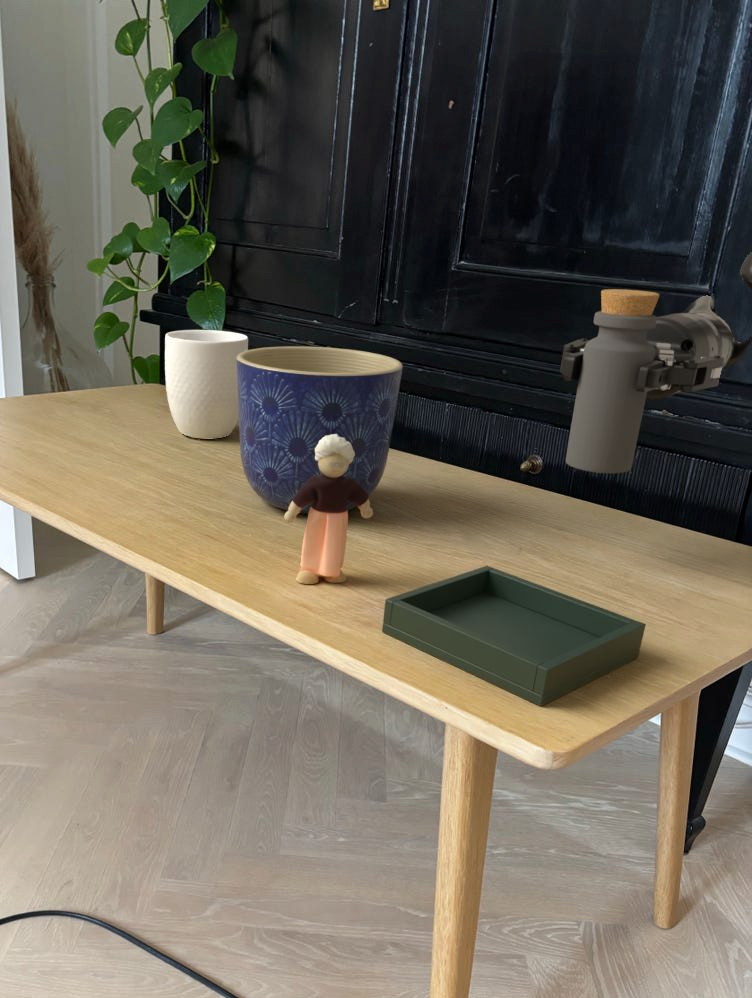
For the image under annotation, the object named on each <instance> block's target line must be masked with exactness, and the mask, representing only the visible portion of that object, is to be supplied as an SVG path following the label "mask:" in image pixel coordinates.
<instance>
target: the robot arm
mask: <svg viewBox="0 0 752 998" xmlns="http://www.w3.org/2000/svg"><path fill="white" fill-rule="evenodd" d="M740 275H741V277H742V280H743V281H745V283H746V285H748V287H749V288H750V289H752V252H750V254H749V255H747V257H746V258H745V260H744V262H743V264H742V266H741V269H740ZM701 296H702V295H701ZM699 297H700V296H699ZM697 298H698V297H697ZM695 299H696V298H695ZM695 299H694V300H695ZM691 302H692V301H691ZM691 302H690V303H691ZM690 303H689V304H690ZM689 304H688V305H689ZM688 305H687V306H688ZM687 306H686V307H687ZM686 307H685V308H686ZM685 308H684V309H685ZM684 309H683V310H684ZM714 309H715V306H714V300H713V299H712V297H711V296H708V295H706V296H702V297H700V298H698V299H696V300H695V301H694V302H692V303H691V304H690V305H689V306H688V307H687V308H686V309H685V310H684V311H683V310H682V311H683V312H682V311H681V312H677V313H670V314H666V315H661V316H656V317H657V323H656V327H655V328H654V329H650V330H648V332H647V337H646V341H648V342H649V343H650V344H651V345H652V346H653V347H654V349H655V355H654V360H653V362H650V363H646V364H643V365H642V366H641V368H640V371H639V376H638V381H637V386H636V391H639V392H647V395H646V399H648V400H659V399H663V398H668V397H670V396H673V395H676V394H679V393H681V392H682V393H685V394H686V393H687V394H688V393H691V392H696V391H701V390H705V389H706V390H707V389H709V388H714V387H718V386H719V384H720V383H719V379H720V375H721V371H722V369H723V368H724V369H725V368H728V367H730V366H734V365H732V364H734V363H735V364H736V362H738V361H739V360H741V358H740V357H743V354H745V353H746V351H747V349H750V347H751V346H750V343H751V344H752V341H751V340H752V337H751V336H750V338H749V337H748V338H749V340H748V339H747V340H748V341H747V340H746V341H743V343H742V342H738V341H737V340H735V337H733V333H732V331H731V329H730V327H729V325H728V324H727V323H726V322H725V320H723V319H722V318H721V317H720V316H718V314H717V313H716V312H715V310H714ZM750 339H751V340H750ZM589 341H590V340H589V339H587V338H581V339H576V340H573V341H571V342H569V343H566V344H564V345H563V349H562V350H563V351H562V355H561V363H560V368H559V373H560V374H561V376H563V379H564V381H568V382H575V381H579V377H580V371H581V365H582V360H583V355H584V349H585V345H586V343H587V342H589ZM736 342H737V343H736ZM744 342H745V343H744ZM739 358H740V359H739ZM725 366H726V367H725ZM729 369H730V368H729Z"/></svg>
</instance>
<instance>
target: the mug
mask: <svg viewBox="0 0 752 998" xmlns="http://www.w3.org/2000/svg"><path fill="white" fill-rule="evenodd" d="M247 350H249V337H248V336H247V335H246V334H242V333H239V332H233V331H226V330H213V329H183V330H174V331H170V332H167V333H165V337H164V375H165V377H164V379H165V391H166V397H167V402H168V408H169V411H170V415H171V417H172V420H173V421H174V424H175V425H176V428H177V430H178V431H179V433H180V432H181V433H182V434H184V435H188V436H192V437H198V438H221V437H225V438H227V437H229V436H230V435H231V433H232V432H233V431H234V429H235V427H236V425H237V423H239V408H238V385H237V361H236V358H237V356H238V355H239V354H240V353H242V352H244V351H247ZM181 433H180V434H181ZM182 434H181V435H182ZM184 435H183V436H184ZM226 436H227V437H226Z"/></svg>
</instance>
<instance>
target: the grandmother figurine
mask: <svg viewBox="0 0 752 998" xmlns="http://www.w3.org/2000/svg"><path fill="white" fill-rule="evenodd" d="M315 455H316V456H315V460H316V461H318V466H319V469H320V471H321V472H322V473H323V474H321V475H317V476H313V477H311V478H310V479H309V480H308V481H307V482H306V483H305V484H304V485H303V486H302V488H301V489H300V490H299V491H298V492H297V493H296V495H295V496H294V497H293V499H292V502H291V504H290V506H289V508H288V511H287V510H286V512H285V513H284V515H283V519H284V521H285V522H287V523H290V524H291V523H294V522H295V521H296V519H297V515H298V514H300V513H299V512H300V510H301V509H302V507H304V506H306V505H309V504H311V508H310V511H309V514H307V518H306V525H305V529H304V534H303V540H302V546H301V556H300V557H301V558H300V563H299V566H300V570H299V572H298V573H297V576H296V578H295V581H297V583H299V584H303V585H313V584H314V585H315V584H317V583H319V580H320V578H319V576H322V578H323V580H324V581H325V582H328V583H333V584H338V583H344V582H346V581H347V577H346V574H345V573H344V572H343V571H342V568H343V566H344V562H345V553H346V546H347V536H348V535H347V533H348V524H349V523H348V522H349V510H347V502H349V503H352V504H355V505H357V506H356V507H358V509H359V510H360V514H361V517H362V518H363V519H370V518H371V517H373V515H374V510H373V508H372V507H371V503H370V499H369V497H370V496H369V495H368V493H367V492H366V491H365V490H364V488H363V487H362V486H361V485H360V484H359V483H357V482H356V481H354V480H352V479H351V478H348V477H345V476H342V475H343V474H344V473H345V472H346V471H347V469H348V466H349V464H350V463H351V462H352V461H353V458H354V456H355V452H354V450H353V448H352V445H351V443H350V442H348V441H346V440H345V438H342V437H339V436H338V434H333V435H332V434H331V435H328V436H325V437H323V438H322V439H321V440H320V441H319V443H318V445H317V446H316V448H315Z"/></svg>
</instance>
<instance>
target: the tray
mask: <svg viewBox="0 0 752 998" xmlns="http://www.w3.org/2000/svg"><path fill="white" fill-rule="evenodd" d="M383 609H384V610H383V619H382V620H383V621H382V622H383V623H382V627H381V628H382V629H381V632H382V633H383V634H386V635H388V636H389V637H392V638H394V639H397V640H399V641H400V642H403V643H405V644H407V645H409V646H411V647H413V648H415V649H418V650H420V651H422V652H424V653H426V654H428V655H430V656H432V657H435V658H437V659H439V660H441V661H443V662H445V663H447V664H449V665H452V666H453V667H456V668H458V669H460V670H462V671H464V672H466V673H469V674H471V675H473V676H475V677H477V678H478V679H481V680H483V681H485V682H488V683H489V684H492V685H494V686H496V687H498V688H500V689H503V690H504V691H507V692H509V693H511V694H513V695H515V696H517V697H520V698H521V699H524V700H526V701H527V702H530V703H532V704H535V705H537V706H538V707H543V706H544V705H547V704H549V703H551V702H553V701H554V700H556V699H559V698H561V697H563V696H564V695H566V694H569V693H570V692H572V691H574V690H576V689H578V688H581V687H583V686H584V685H587V684H588V683H591V682H592V681H594V680H596V679H598V678H600V677H602V676H604V675H606V674H609V673H610V672H612V671H615V670H616V669H618V668H620V667H622V666H624V665H625V664H628V663H630V662H632V661H634V660H636V659H638V658H639V655H640V650H641V646H642V643H643V637H644V634H645V629H646V625H647V624H646V623H644V622H641V621H639V620H636V619H633V618H631V617H628V616H625V615H622V614H619V613H617V612H614V611H611V610H609V609H606V608H603V607H600V606H597V605H596V604H592V603H590V602H586V601H584V600H581V599H579V598H577V597H574V596H571V595H568V594H565V593H562V592H559V591H558V590H555V589H552V588H549V587H546V586H544V585H541V584H538V583H535V582H533V581H530V580H528V579H525V578H522V577H519V576H517V575H513V574H511V573H508V572H506V571H503V570H500V569H497V568H494V567H492V566H489V565H484V566H482V567H479V568H476V569H472V570H469V571H467V572H464V573H461V574H457V575H454V576H451V577H449V578H446V579H442V580H439V581H437V582H433V583H430V584H427V585H423V586H421V587H418V588H415V589H412V590H409V591H406V592H402V593H400V594H397V595H394V596H391V597H388V598H385V601H384V608H383Z"/></svg>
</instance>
